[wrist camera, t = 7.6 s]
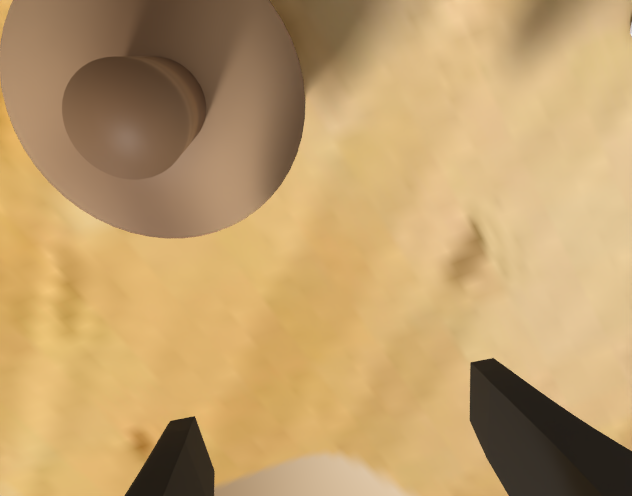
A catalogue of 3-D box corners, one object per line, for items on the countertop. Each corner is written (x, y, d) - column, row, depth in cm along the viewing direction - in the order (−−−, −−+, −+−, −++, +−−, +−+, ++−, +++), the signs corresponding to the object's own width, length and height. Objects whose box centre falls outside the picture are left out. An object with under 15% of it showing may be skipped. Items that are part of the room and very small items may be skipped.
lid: (296, -63, 12) (313, -124, 8) (306, 219, 16) (322, 277, 11) (-25, -62, 11) (-189, -128, 7) (62, 235, 15) (-14, 303, 11)
